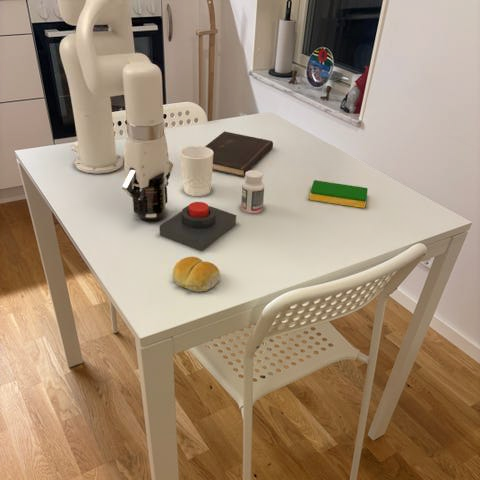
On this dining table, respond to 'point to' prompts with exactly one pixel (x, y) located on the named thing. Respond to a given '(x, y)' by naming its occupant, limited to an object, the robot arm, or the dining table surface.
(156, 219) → the supplement container
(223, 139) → the hardcover book
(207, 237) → the control box
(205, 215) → the button
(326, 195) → the dish sponge
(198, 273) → the bread roll
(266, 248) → the dining table surface
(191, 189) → the white cup
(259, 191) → the pill bottle
